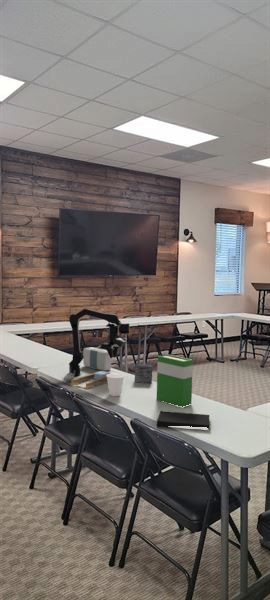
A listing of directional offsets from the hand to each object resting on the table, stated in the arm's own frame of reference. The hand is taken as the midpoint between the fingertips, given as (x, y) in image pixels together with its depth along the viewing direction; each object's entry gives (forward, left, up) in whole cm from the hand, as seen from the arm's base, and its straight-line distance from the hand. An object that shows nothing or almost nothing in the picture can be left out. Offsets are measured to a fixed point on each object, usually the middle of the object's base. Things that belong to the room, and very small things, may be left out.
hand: (112, 357), depth 286 cm
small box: (+23, +1, -12) cm, 26 cm away
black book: (+77, -47, -13) cm, 91 cm away
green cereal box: (+58, -23, -12) cm, 64 cm away
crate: (0, -11, -12) cm, 16 cm away
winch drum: (-11, -28, -12) cm, 32 cm away
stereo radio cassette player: (-21, +10, -12) cm, 27 cm away
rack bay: (0, -20, -12) cm, 23 cm away
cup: (+26, -32, -12) cm, 43 cm away
